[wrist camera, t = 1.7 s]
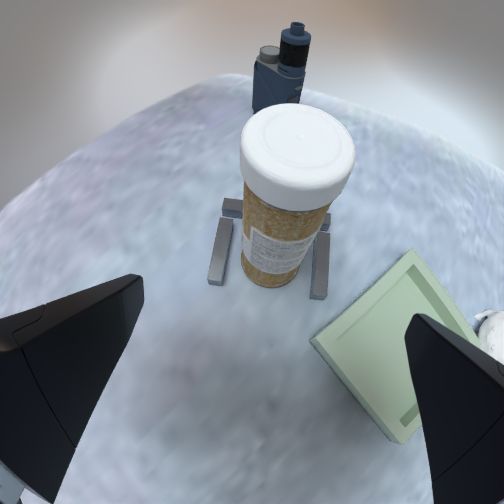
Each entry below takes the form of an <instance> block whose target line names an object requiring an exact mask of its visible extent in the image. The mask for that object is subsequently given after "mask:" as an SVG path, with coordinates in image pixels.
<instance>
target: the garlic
mask: <svg viewBox="0 0 504 504" xmlns="http://www.w3.org/2000/svg"><path fill="white" fill-rule="evenodd" d="M474 316H475V317H476V318H477V320H479V321H481V319H482V318H483V317H485V316H487V317H488V318H487V319H486V320H485V321H484V322H483V323H482V325H481V326H480V329H479V333H478V339H479V340H480V342H481V344H482V345H481V347H480V348H479V349H481V350H482V351H484V352H485V353H487V354H488V355H490V356H491V357H493V358H494V359H495V360H497V361H499V362H500V363H502V364H503V365H504V311H499V312H497V311H494V310H486V311H484V312H482V313H479V314H477V315H474Z"/></svg>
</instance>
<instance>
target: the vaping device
mask: <svg viewBox="0 0 504 504" xmlns="http://www.w3.org/2000/svg"><path fill="white" fill-rule="evenodd" d="M304 27H305V25H304V24H302V23H299V22H292V23H291V27H290V28H289V29H285V30H283V31H282V33H281V42H280V48H278V47H276V46H264V47H262V48H260V55H259V56H258V57H257V60H256V61H255V64H254V79H253V100H252V108H253V110H254V114H256V113H257V112H259V111H260V110H262V109H264V108H267V107H270V106H273V105H278V104H287V103H292V104H299V101H300V96H301V91H302V87H303V82H304V77H305V67H306V62H307V57H308V52H309V46H308V44H309V43H310V41H311V35H310V34H309V33H308V32H306V31H304ZM309 45H310V44H309Z"/></svg>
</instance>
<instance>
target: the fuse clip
mask: <svg viewBox="0 0 504 504" xmlns="http://www.w3.org/2000/svg"><path fill="white" fill-rule="evenodd" d="M222 214H223V216H227V217H235V218H243V200H237V199H229V198H224V201H223V206H222ZM330 219H331V214H330V213H326V215H325V218H324V221H323V224H322V226H321V228H320V229H319V230H322V231H327V230H328V228H329V226H330ZM232 230H233V219H228V218H221V217H220V219H219V224H218V229H217V233H216V238H215V243H214V248H213V253H212V258H211V262H210V267H209V272H208V277H207V280H208V283H209V284H213V285H219V286H222V284H223V278H224V273H225V267H226V262H227V256H228V251H229V245H230V240H231V235H232ZM329 250H330V233H323V232H318V233H317V235H316V237H315V239H314V252H313V266H312V279H311V291H310V298H311V299H319V300H323V299H324V298H325V297H327V287H328V271H329Z"/></svg>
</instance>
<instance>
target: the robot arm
mask: <svg viewBox="0 0 504 504" xmlns="http://www.w3.org/2000/svg"><path fill="white" fill-rule="evenodd" d="M143 304H144V286H143V278H142V276H140V275H135V274H128V275H125V276H122V277H119V278H116V279H114V280H111V281H108V282H105V283H102V284H99V285H97V286H94V287H91V288H88V289H85V290H82V291H80V292H77V293H74V294H71V295H68V296H66V297H63V298H60V299H57V300H55V301H52V302H49V303H46V305H45V304H43V305H41V306H38V307H35V308H32V309H29V310H27V311H24V312H21V313H17V314H14V315H11V316H8V317H4V318H1V319H0V504H22V502H21V499H20V496H21V494H22V492H23V490H24V488H26V489H27V490H29V491H30V492H32V493H33V494H35V495H37V496H38V497H40V498H42V499H43V500H45V501H47V502H48V503H50V504H53V503H54V501H55V499H56V496H57V494H58V491H59V489H60V486H61V484H62V481H63V479H64V476H65V474H66V471H67V469H68V467H69V464H70V462H71V459H72V457H73V455H74V453H75V450H76V449H75V448H76V447H77V445H78V443H79V441H80V439H81V436H82V434H83V432H84V430H85V428H86V425H87V423H88V421H89V419H90V417H91V415H92V413H93V410H94V408H95V406H96V404H97V402H98V400H99V398H100V396H101V394H102V392H103V390H104V388H105V386H106V384H107V382H108V380H109V378H110V376H111V374H112V372H113V370H114V368H115V366H116V364H117V362H118V361H119V359H120V357H121V355H122V353H123V351H124V349H125V347H126V345H127V343H128V341H129V339H130V337H131V334H132V332H133V329H134V327H135V324H136V322H137V319H138V317H139V314H140V312H141V309H142V307H143ZM404 340H405V346H406V351H407V357H408V363H409V369H410V375H411V379H412V383H413V387H414V391H415V395H416V399H417V404H418V408H419V412H420V417H421V422H422V427H423V432H424V437H425V442H426V448H427V454H428V460H429V466H430V473H431V481H432V490H433V500H434V504H504V365H503V364H502V363H500V362H499V361H497V360H495V359H494V358H493V357H491V356H490V355H488V354H487V353H485V352H484V351H482V350H481V349H479V348H478V347H476V346H475V345H473V344H472V343H470V342H469V341H467V340H466V339H464V338H462V337H461V336H459V335H458V334H456V333H455V332H453V331H452V330H450V329H448V328H447V327H445V326H444V325H442V324H441V323H439V322H437V321H436V320H434V319H433V318H431V317H429V316H428V315H426V314H422V313H415V314H414V315H413V316H412V318H411V321H410V323H409V325H408V327H407V330H406V332H405V335H404Z"/></svg>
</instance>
